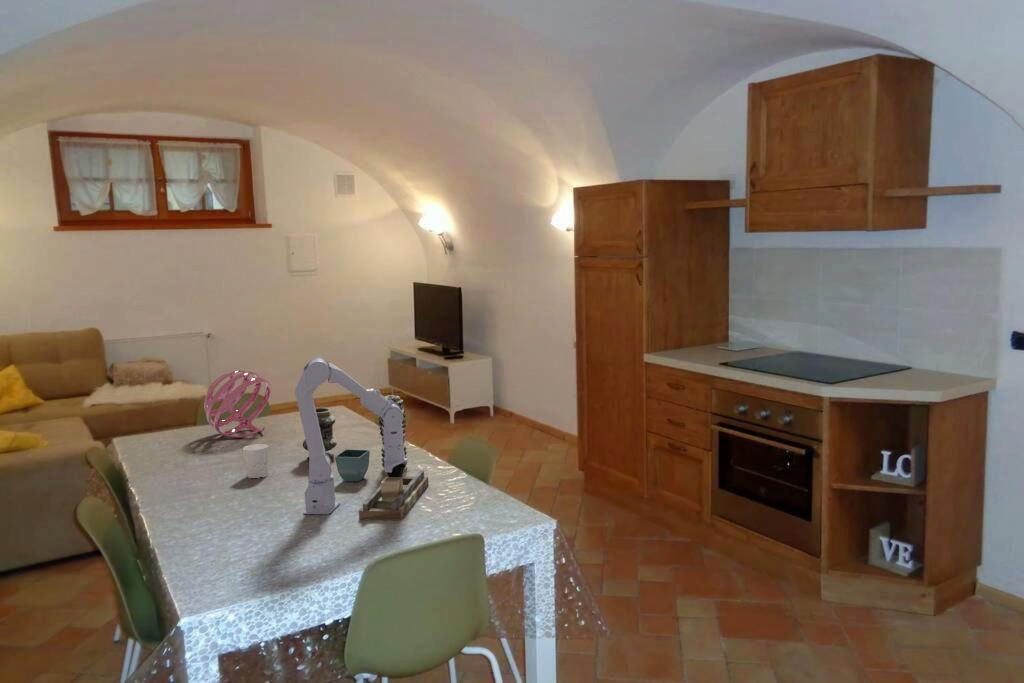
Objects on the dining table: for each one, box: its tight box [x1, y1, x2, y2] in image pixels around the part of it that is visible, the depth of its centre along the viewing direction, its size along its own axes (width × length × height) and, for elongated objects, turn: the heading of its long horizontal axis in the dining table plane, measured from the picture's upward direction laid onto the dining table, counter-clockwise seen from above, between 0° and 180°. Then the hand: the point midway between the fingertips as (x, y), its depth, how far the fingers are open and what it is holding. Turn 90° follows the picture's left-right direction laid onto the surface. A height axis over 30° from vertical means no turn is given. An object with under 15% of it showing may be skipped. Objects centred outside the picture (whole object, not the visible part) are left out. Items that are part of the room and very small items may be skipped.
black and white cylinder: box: [378, 394, 408, 471], centre depth 263 cm, size 9×9×25 cm
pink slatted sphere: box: [203, 369, 272, 439], centre depth 318 cm, size 28×28×27 cm
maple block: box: [380, 476, 403, 499], centre depth 227 cm, size 5×5×5 cm
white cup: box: [242, 443, 269, 479], centre depth 261 cm, size 8×8×10 cm
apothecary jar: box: [302, 407, 338, 462], centre depth 279 cm, size 12×12×18 cm
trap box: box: [358, 470, 429, 521], centre depth 231 cm, size 32×12×4 cm, turn 172°
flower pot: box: [334, 448, 371, 483], centre depth 253 cm, size 9×9×9 cm
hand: (396, 488), depth 232 cm, fingers closed
